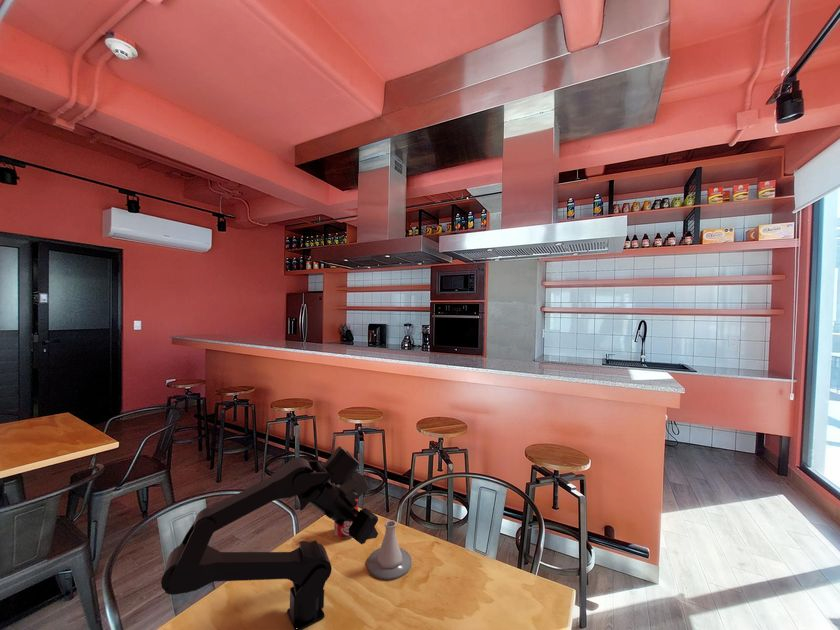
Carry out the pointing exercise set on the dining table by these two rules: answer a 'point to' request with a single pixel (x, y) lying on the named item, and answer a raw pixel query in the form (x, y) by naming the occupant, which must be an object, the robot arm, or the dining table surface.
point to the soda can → (343, 528)
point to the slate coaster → (389, 572)
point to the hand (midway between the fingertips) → (365, 527)
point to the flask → (389, 548)
